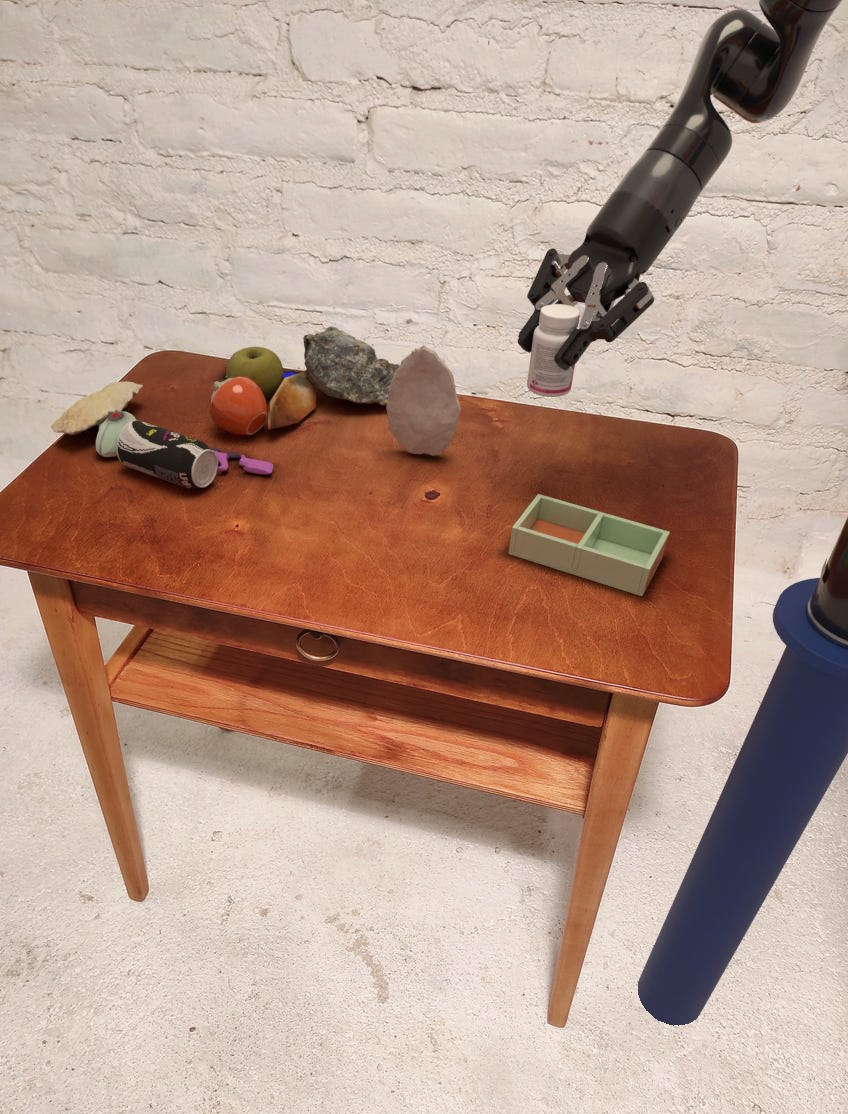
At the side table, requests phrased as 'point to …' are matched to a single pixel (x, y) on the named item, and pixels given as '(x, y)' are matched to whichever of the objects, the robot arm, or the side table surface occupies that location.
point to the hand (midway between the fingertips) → (541, 355)
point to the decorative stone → (291, 401)
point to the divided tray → (589, 544)
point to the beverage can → (166, 455)
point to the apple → (257, 368)
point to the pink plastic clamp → (243, 462)
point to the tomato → (238, 406)
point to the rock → (347, 367)
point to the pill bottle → (551, 351)
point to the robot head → (111, 432)
